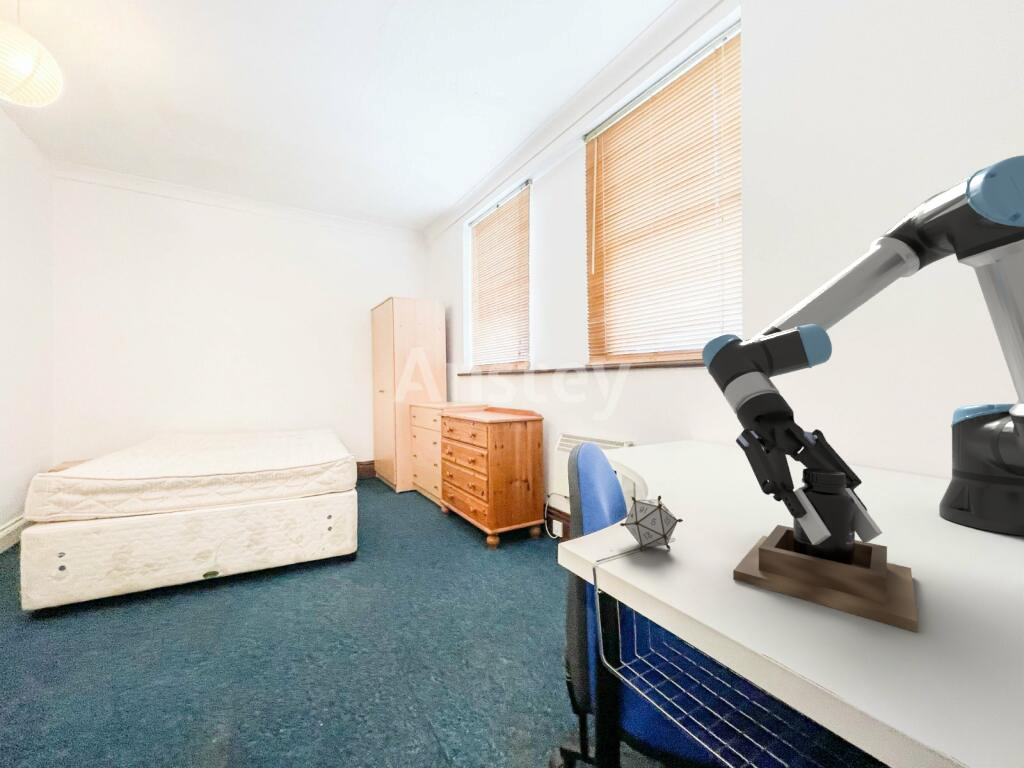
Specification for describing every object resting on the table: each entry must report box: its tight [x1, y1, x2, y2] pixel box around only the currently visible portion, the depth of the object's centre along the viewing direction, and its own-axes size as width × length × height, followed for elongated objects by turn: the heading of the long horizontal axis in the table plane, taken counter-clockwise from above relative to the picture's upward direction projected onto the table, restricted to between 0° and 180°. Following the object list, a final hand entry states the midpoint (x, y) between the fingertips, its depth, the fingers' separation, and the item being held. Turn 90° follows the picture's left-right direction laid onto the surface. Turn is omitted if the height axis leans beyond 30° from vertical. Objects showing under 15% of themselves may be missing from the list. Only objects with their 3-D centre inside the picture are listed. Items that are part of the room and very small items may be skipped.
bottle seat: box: [732, 524, 918, 633], centre depth 58 cm, size 18×18×4 cm
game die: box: [619, 495, 684, 551], centre depth 68 cm, size 9×8×10 cm
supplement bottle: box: [792, 467, 856, 565], centre depth 58 cm, size 7×7×12 cm
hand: (847, 538), depth 54 cm, fingers closed on supplement bottle, 7 cm apart
